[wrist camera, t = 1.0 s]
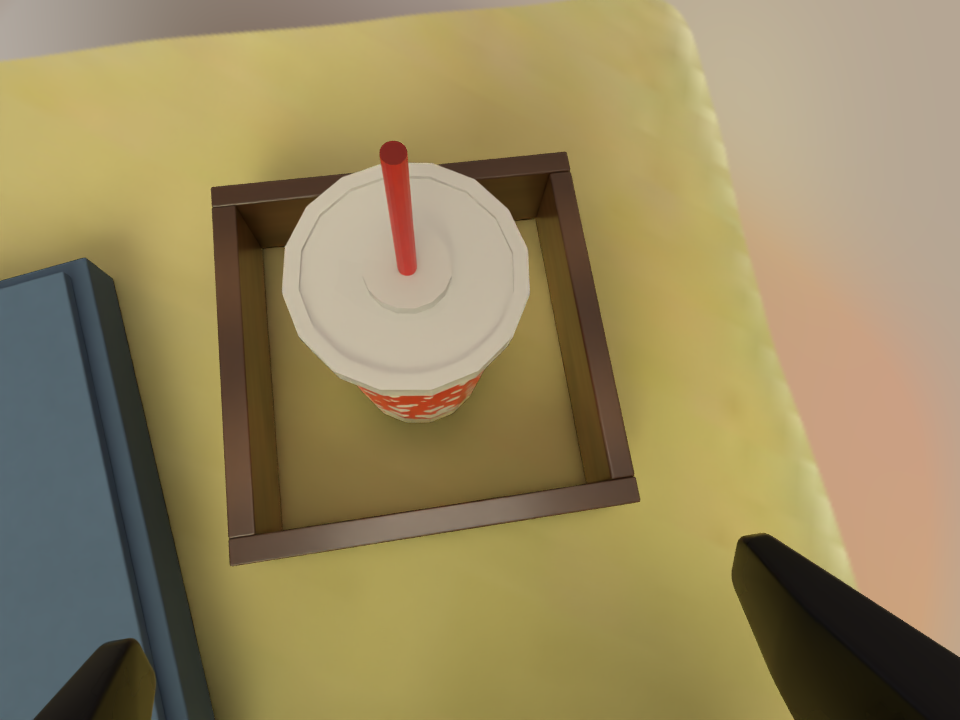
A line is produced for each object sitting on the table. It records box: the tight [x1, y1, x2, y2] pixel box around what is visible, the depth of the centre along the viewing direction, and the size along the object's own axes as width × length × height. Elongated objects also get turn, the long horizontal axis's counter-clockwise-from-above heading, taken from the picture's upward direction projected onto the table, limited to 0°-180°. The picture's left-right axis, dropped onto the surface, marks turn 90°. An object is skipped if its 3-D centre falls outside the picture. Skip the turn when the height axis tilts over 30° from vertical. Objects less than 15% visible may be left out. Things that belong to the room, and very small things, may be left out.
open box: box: [211, 152, 640, 566], centre depth 23 cm, size 13×13×4 cm
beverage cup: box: [282, 141, 530, 423], centre depth 18 cm, size 6×6×14 cm
